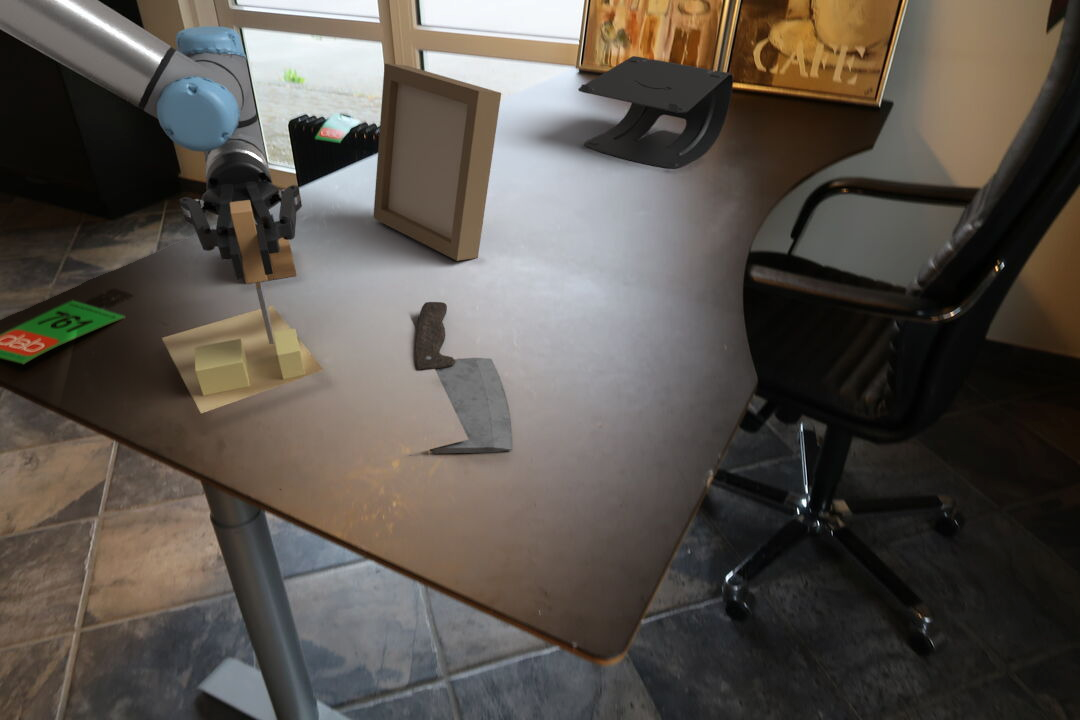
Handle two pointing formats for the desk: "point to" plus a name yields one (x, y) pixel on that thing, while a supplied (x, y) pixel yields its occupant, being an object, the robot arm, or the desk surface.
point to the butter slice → (289, 354)
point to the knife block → (281, 262)
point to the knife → (251, 254)
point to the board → (256, 350)
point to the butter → (221, 367)
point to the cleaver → (465, 388)
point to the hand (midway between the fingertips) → (252, 264)
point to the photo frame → (435, 158)
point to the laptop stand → (662, 110)
